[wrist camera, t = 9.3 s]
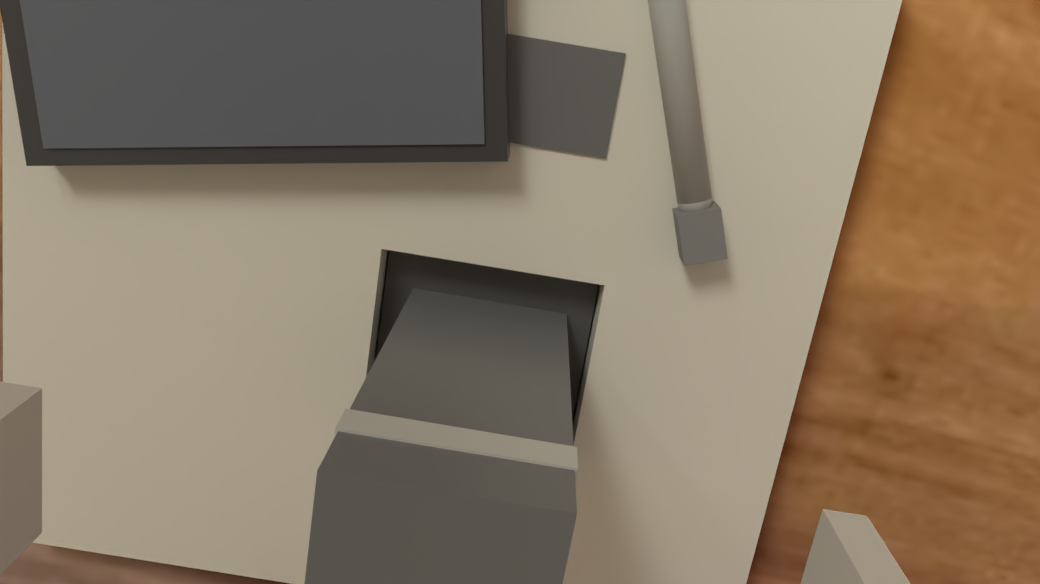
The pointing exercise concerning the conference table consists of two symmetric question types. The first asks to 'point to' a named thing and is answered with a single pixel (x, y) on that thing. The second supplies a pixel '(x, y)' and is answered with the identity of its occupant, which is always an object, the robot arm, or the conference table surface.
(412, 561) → the gray rectangular block
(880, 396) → the conference table surface
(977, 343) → the conference table surface
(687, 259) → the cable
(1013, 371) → the conference table surface
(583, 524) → the outlet plate
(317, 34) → the phone
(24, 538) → the robot arm
